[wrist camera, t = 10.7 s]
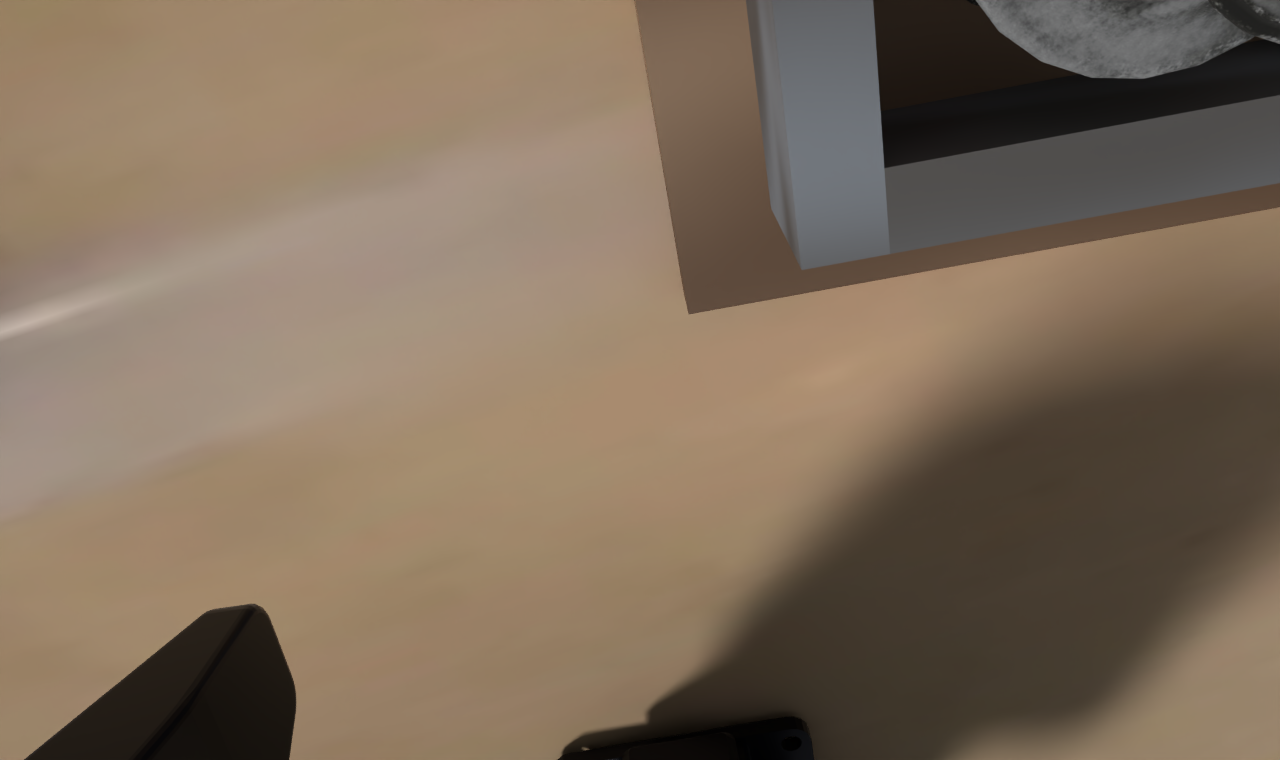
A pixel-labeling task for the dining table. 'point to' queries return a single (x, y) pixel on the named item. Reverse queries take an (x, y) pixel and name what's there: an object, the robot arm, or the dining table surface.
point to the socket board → (925, 142)
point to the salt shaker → (1131, 32)
